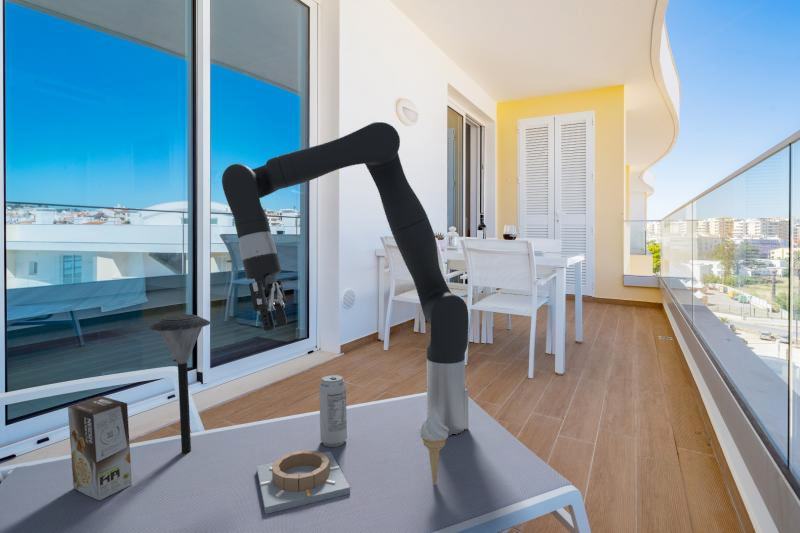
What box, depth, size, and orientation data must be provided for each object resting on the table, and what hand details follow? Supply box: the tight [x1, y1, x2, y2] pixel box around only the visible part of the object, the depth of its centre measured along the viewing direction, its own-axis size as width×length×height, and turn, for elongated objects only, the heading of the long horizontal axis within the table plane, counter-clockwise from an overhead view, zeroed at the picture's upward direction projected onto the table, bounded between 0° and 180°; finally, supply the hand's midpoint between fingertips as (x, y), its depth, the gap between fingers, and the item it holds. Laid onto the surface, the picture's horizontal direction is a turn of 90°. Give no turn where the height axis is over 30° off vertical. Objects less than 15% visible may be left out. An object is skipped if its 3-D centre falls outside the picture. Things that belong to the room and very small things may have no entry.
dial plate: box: [256, 449, 351, 515], centre depth 86 cm, size 15×15×4 cm
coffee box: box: [67, 395, 133, 501], centre depth 85 cm, size 9×6×16 cm
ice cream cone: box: [419, 407, 449, 485], centre depth 84 cm, size 6×6×15 cm
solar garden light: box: [148, 313, 212, 454], centre depth 98 cm, size 12×12×30 cm
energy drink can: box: [318, 374, 348, 448], centre depth 102 cm, size 6×6×15 cm
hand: (276, 327), depth 98 cm, fingers open, 8 cm apart
